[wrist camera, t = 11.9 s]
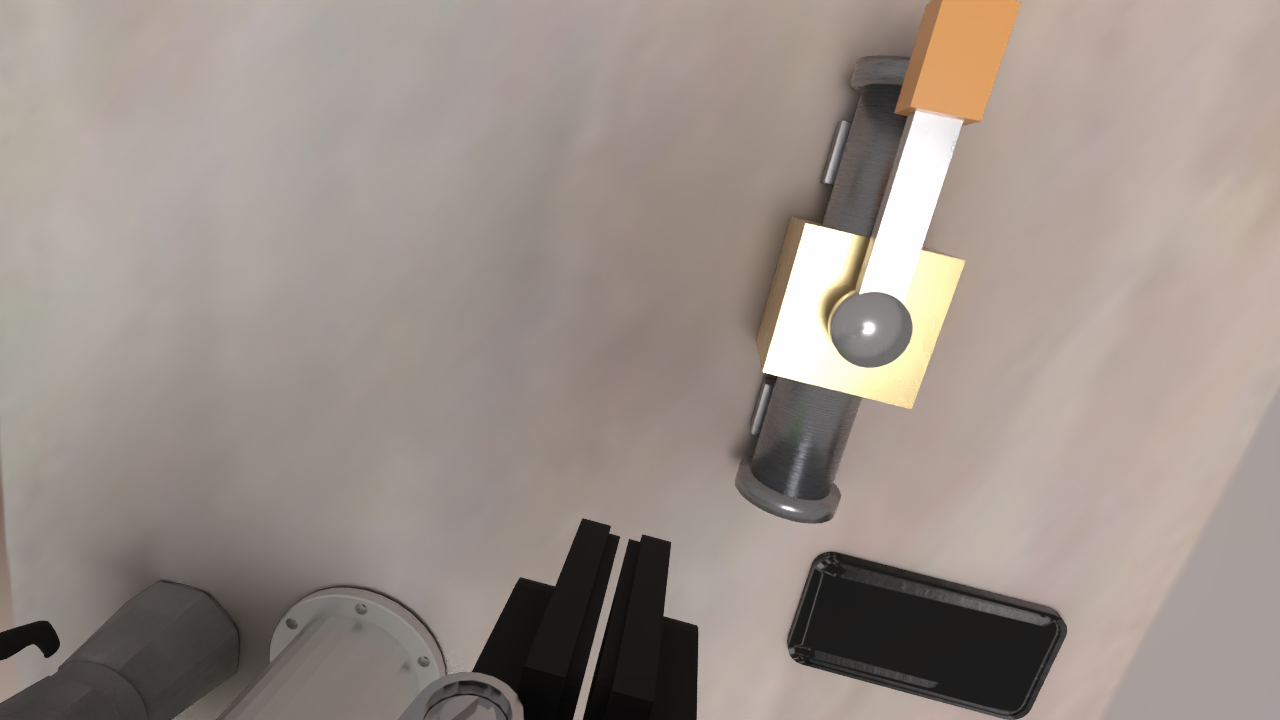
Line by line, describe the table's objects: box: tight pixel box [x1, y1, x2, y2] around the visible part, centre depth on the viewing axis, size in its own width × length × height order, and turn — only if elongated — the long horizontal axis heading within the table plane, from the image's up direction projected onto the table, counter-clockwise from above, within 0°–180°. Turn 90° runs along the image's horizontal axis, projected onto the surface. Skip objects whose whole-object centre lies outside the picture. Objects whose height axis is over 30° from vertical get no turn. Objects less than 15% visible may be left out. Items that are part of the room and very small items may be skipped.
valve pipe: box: [735, 56, 966, 523], centre depth 32 cm, size 22×7×8 cm, turn 168°
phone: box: [787, 552, 1067, 720], centre depth 40 cm, size 8×1×15 cm
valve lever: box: [828, 0, 1021, 368], centre depth 26 cm, size 14×3×2 cm, turn 168°
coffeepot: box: [0, 581, 240, 720], centre depth 39 cm, size 15×9×18 cm, turn 11°
